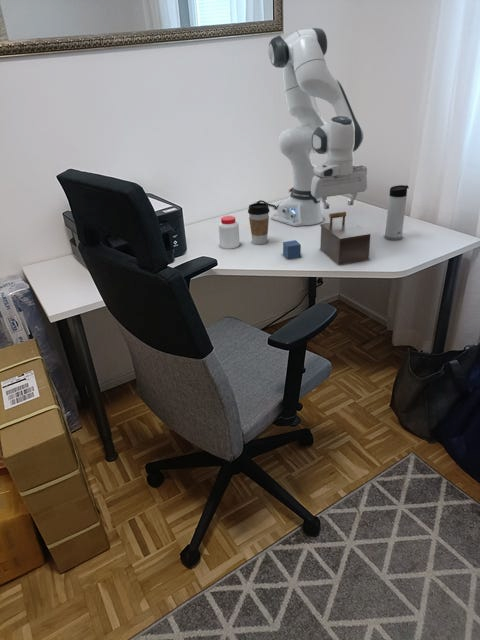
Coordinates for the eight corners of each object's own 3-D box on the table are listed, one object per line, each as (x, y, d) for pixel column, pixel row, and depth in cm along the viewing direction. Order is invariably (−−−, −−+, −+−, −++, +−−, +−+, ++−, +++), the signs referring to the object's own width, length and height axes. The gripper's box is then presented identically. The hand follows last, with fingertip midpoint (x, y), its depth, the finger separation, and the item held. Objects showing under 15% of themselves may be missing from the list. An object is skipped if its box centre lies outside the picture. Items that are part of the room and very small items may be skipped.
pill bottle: (232, 249, 189) (231, 222, 184) (216, 246, 193) (214, 219, 187) (243, 243, 195) (242, 216, 189) (227, 240, 198) (225, 213, 193)
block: (287, 259, 178) (287, 246, 176) (283, 254, 183) (282, 241, 180) (300, 257, 179) (300, 244, 177) (295, 252, 184) (295, 239, 181)
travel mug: (403, 240, 188) (409, 188, 178) (385, 240, 190) (390, 188, 179) (401, 234, 193) (408, 183, 183) (384, 234, 195) (389, 183, 185)
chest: (320, 249, 185) (321, 226, 181) (348, 244, 187) (349, 222, 183) (338, 264, 172) (339, 241, 168) (368, 259, 174) (370, 236, 170)
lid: (320, 226, 181) (320, 212, 179) (348, 221, 184) (349, 208, 181) (339, 241, 167) (340, 227, 165) (370, 236, 170) (371, 222, 167)
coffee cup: (246, 244, 193) (244, 207, 185) (253, 237, 200) (251, 200, 192) (266, 246, 190) (265, 208, 183) (273, 238, 197) (272, 201, 190)
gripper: (362, 162, 175) (360, 200, 182) (309, 169, 171) (309, 208, 177) (371, 165, 169) (368, 205, 176) (316, 173, 165) (316, 213, 172)
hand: (338, 206), depth 177 cm, fingers open, 8 cm apart
